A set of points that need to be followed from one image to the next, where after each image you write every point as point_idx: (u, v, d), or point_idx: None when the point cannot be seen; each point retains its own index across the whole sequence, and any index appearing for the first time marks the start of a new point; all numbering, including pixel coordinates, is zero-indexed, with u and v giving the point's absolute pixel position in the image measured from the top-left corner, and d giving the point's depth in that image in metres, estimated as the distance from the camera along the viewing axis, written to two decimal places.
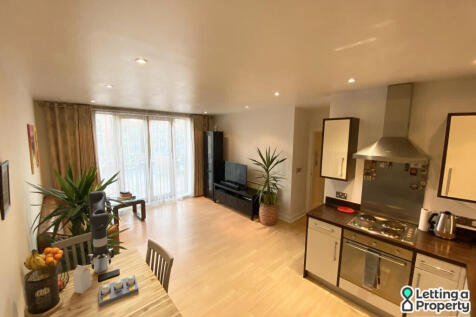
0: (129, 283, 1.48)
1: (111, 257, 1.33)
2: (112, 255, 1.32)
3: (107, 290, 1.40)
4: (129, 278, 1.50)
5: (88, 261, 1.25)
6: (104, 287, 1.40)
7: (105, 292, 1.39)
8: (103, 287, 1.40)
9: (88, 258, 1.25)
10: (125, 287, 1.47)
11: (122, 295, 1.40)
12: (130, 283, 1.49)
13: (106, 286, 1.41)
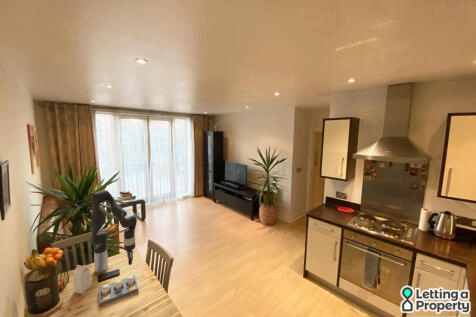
0: (129, 283, 1.48)
1: None
2: None
3: (107, 290, 1.40)
4: (129, 278, 1.50)
5: (132, 258, 1.46)
6: (104, 287, 1.40)
7: (105, 292, 1.39)
8: (103, 287, 1.40)
9: (132, 257, 1.45)
10: (125, 287, 1.47)
11: (122, 295, 1.40)
12: (130, 283, 1.49)
13: (106, 286, 1.41)
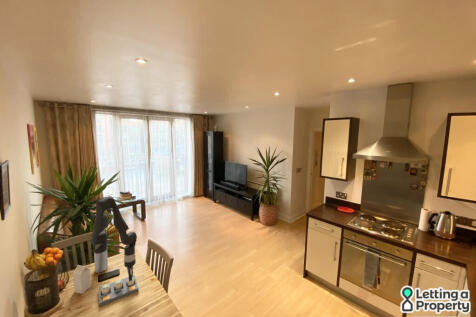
0: (129, 285, 1.49)
1: None
2: None
3: (107, 290, 1.40)
4: None
5: (132, 274, 1.47)
6: (104, 287, 1.40)
7: (105, 292, 1.39)
8: (103, 287, 1.40)
9: None
10: (125, 287, 1.47)
11: (122, 295, 1.40)
12: (130, 285, 1.49)
13: (106, 286, 1.41)
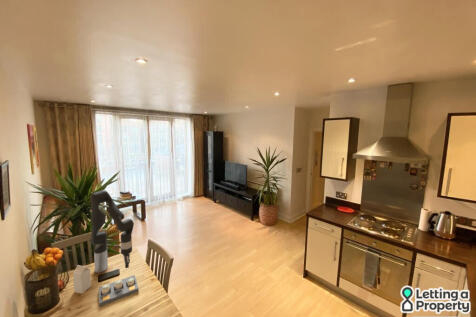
0: (129, 285, 1.49)
1: None
2: None
3: (107, 290, 1.40)
4: (129, 280, 1.50)
5: None
6: (104, 287, 1.40)
7: (105, 292, 1.39)
8: (103, 287, 1.40)
9: (129, 261, 1.44)
10: (125, 287, 1.47)
11: (122, 295, 1.40)
12: (130, 285, 1.49)
13: (106, 286, 1.41)
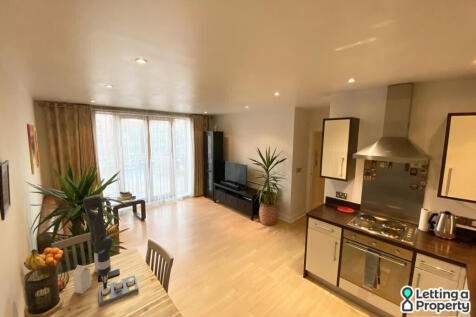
0: (129, 285, 1.49)
1: None
2: None
3: (107, 291, 1.40)
4: (129, 280, 1.50)
5: None
6: None
7: (105, 293, 1.39)
8: None
9: None
10: (125, 287, 1.47)
11: (122, 295, 1.40)
12: (130, 285, 1.49)
13: None
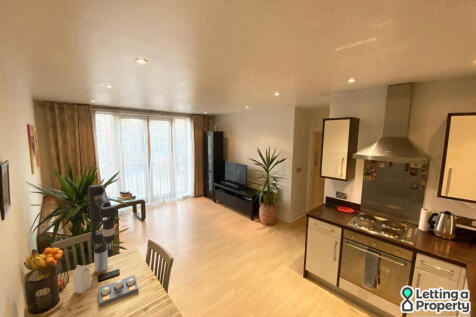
0: (129, 285, 1.49)
1: None
2: None
3: (107, 293, 1.40)
4: (129, 280, 1.50)
5: None
6: (104, 290, 1.40)
7: None
8: (103, 290, 1.40)
9: None
10: (125, 287, 1.47)
11: (122, 295, 1.40)
12: (130, 285, 1.49)
13: (106, 289, 1.41)
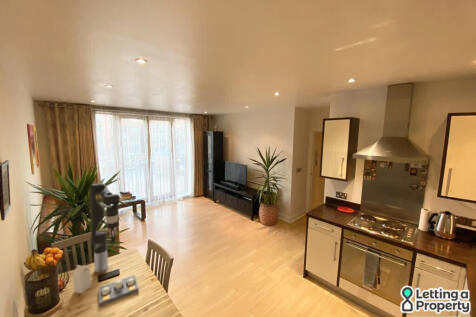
0: (129, 285, 1.49)
1: None
2: None
3: (107, 293, 1.40)
4: (129, 280, 1.50)
5: None
6: (104, 290, 1.40)
7: None
8: (103, 290, 1.40)
9: None
10: (125, 287, 1.47)
11: (122, 295, 1.40)
12: (130, 285, 1.49)
13: (106, 289, 1.41)
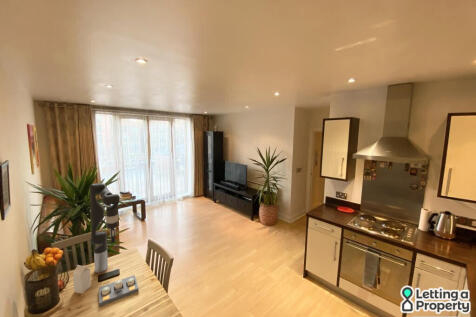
0: (129, 285, 1.49)
1: None
2: None
3: (107, 293, 1.40)
4: (129, 280, 1.50)
5: None
6: (104, 290, 1.40)
7: None
8: (103, 290, 1.40)
9: None
10: (125, 287, 1.47)
11: (122, 295, 1.40)
12: (130, 285, 1.49)
13: (106, 289, 1.41)
